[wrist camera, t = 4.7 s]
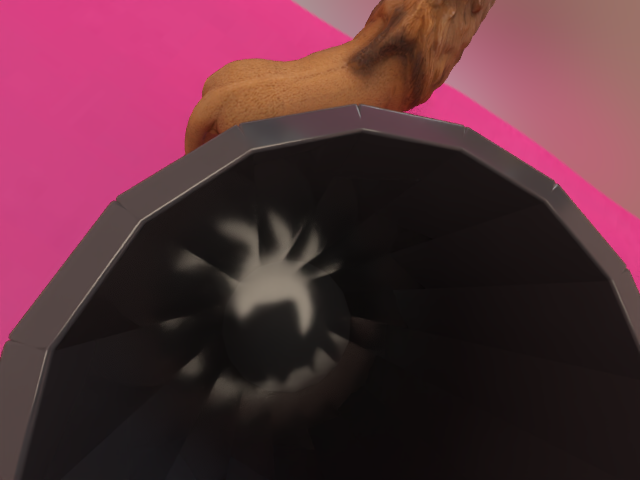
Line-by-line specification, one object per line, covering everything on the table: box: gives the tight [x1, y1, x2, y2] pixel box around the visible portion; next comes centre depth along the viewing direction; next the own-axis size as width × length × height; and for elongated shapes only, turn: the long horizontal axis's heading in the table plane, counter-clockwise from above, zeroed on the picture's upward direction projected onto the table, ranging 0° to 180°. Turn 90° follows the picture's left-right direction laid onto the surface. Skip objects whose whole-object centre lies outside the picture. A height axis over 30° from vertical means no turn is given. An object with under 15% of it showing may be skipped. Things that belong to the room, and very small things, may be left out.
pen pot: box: [0, 104, 640, 480], centre depth 9 cm, size 7×7×12 cm
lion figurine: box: [185, 0, 496, 155], centre depth 12 cm, size 15×5×9 cm, turn 128°
